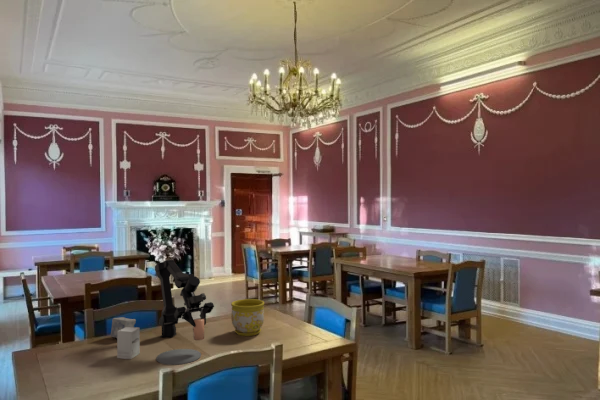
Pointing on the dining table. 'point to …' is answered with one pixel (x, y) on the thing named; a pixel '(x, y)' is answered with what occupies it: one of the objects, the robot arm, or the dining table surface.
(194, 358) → the mat
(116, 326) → the incense holder
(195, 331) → the salt shaker
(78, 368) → the dining table surface
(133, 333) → the supplement box
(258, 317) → the flowerpot
